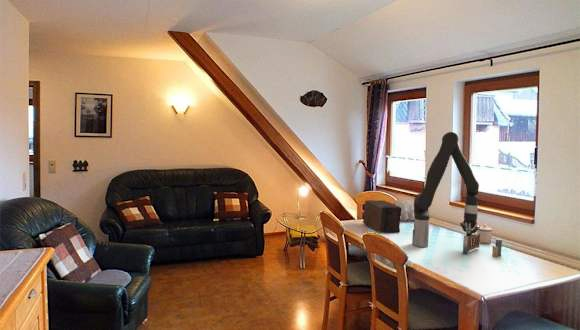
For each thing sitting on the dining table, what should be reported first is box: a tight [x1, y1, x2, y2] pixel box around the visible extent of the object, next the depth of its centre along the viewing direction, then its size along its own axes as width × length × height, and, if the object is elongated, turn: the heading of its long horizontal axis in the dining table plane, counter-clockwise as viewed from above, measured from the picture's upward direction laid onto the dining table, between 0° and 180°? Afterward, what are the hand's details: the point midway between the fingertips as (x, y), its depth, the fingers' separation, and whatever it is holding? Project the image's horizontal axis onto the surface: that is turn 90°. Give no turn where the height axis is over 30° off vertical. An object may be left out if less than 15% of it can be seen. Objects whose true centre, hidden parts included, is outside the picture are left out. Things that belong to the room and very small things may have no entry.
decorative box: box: [362, 199, 402, 234], centre depth 309 cm, size 31×20×20 cm
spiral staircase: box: [394, 199, 414, 222], centre depth 338 cm, size 18×18×25 cm
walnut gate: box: [467, 232, 481, 253], centre depth 255 cm, size 16×2×9 cm, turn 132°
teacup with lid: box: [476, 224, 493, 244], centre depth 280 cm, size 12×9×12 cm
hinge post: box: [462, 235, 468, 256], centre depth 249 cm, size 2×2×11 cm
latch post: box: [491, 238, 503, 258], centre depth 247 cm, size 5×4×10 cm
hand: (468, 239), depth 259 cm, fingers closed
